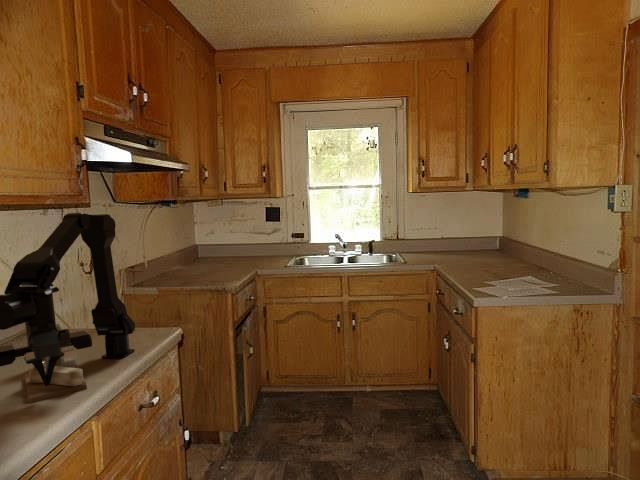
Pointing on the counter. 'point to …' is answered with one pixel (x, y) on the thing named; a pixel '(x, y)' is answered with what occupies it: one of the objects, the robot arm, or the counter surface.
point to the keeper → (67, 358)
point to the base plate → (49, 389)
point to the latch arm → (59, 376)
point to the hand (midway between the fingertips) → (47, 385)
